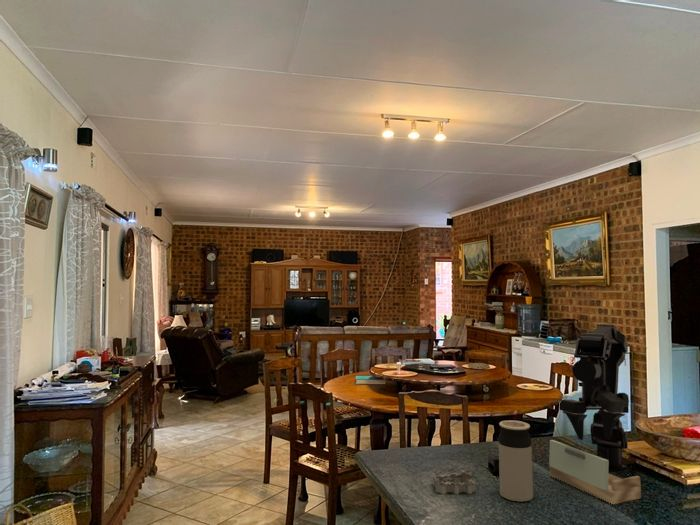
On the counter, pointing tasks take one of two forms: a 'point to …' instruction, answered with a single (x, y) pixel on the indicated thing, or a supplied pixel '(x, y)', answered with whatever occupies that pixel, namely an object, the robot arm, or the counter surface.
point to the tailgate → (579, 464)
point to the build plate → (493, 465)
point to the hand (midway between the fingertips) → (594, 439)
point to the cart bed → (616, 491)
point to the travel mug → (515, 461)
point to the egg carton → (454, 482)
